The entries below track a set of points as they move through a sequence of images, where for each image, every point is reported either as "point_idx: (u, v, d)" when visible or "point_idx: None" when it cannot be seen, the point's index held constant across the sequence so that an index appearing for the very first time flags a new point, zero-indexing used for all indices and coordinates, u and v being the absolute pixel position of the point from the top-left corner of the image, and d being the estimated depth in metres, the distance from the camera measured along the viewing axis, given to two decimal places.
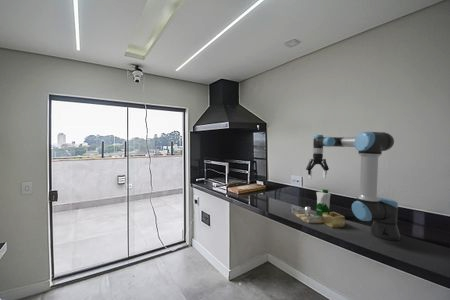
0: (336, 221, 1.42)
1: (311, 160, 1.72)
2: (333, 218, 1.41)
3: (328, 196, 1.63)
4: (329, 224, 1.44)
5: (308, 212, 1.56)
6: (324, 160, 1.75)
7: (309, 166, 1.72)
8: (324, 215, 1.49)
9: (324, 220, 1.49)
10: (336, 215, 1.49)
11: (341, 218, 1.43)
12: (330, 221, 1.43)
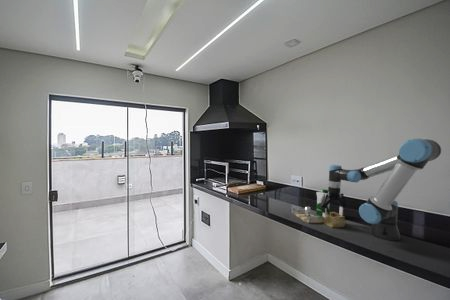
0: (336, 221, 1.42)
1: (326, 196, 1.44)
2: (333, 218, 1.41)
3: None
4: (329, 224, 1.44)
5: (308, 212, 1.56)
6: (341, 195, 1.47)
7: (324, 203, 1.44)
8: None
9: (324, 220, 1.49)
10: (336, 215, 1.49)
11: (341, 218, 1.43)
12: (330, 221, 1.43)
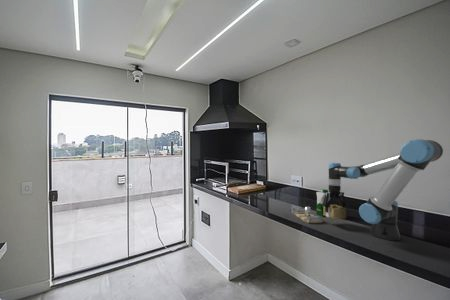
0: (337, 213, 1.41)
1: (327, 195, 1.44)
2: (334, 210, 1.41)
3: None
4: (330, 216, 1.43)
5: (308, 212, 1.56)
6: (342, 193, 1.46)
7: (326, 202, 1.44)
8: None
9: (325, 213, 1.48)
10: (337, 207, 1.48)
11: (342, 210, 1.42)
12: (331, 213, 1.42)
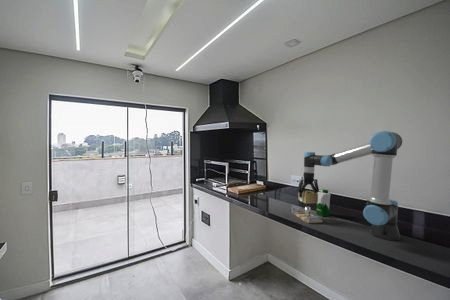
0: (310, 198, 1.53)
1: (301, 181, 1.55)
2: (307, 195, 1.52)
3: (328, 196, 1.63)
4: (303, 200, 1.55)
5: (308, 212, 1.56)
6: (315, 180, 1.58)
7: (300, 188, 1.55)
8: None
9: (299, 197, 1.60)
10: (311, 193, 1.60)
11: (314, 195, 1.54)
12: (304, 198, 1.54)
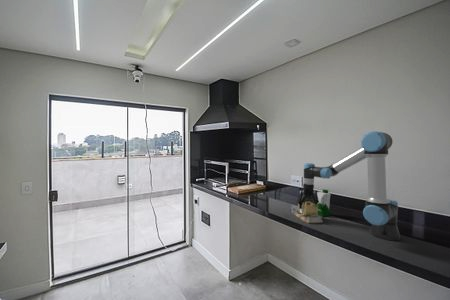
0: (309, 209, 1.53)
1: (301, 192, 1.55)
2: (306, 206, 1.53)
3: (328, 196, 1.63)
4: (303, 212, 1.55)
5: None
6: (315, 192, 1.58)
7: (300, 199, 1.55)
8: None
9: (299, 209, 1.60)
10: (311, 204, 1.60)
11: (314, 206, 1.54)
12: (304, 209, 1.54)
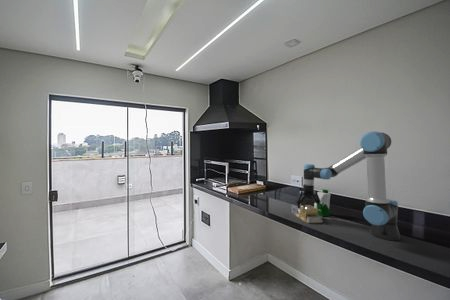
0: (309, 213, 1.53)
1: (301, 193, 1.55)
2: (306, 210, 1.53)
3: (328, 196, 1.63)
4: (303, 216, 1.55)
5: None
6: (315, 192, 1.58)
7: (298, 199, 1.55)
8: None
9: None
10: (311, 208, 1.60)
11: (314, 210, 1.54)
12: (304, 213, 1.54)
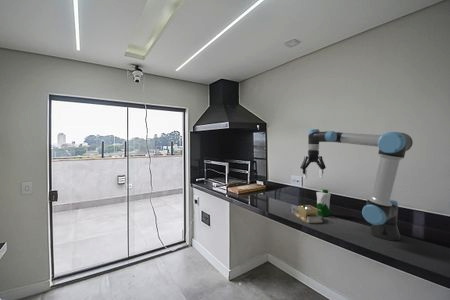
0: (309, 213, 1.53)
1: (306, 157, 1.54)
2: (306, 210, 1.53)
3: (328, 196, 1.63)
4: (303, 216, 1.55)
5: None
6: (320, 157, 1.57)
7: (304, 164, 1.53)
8: (299, 208, 1.60)
9: (299, 212, 1.60)
10: (311, 208, 1.60)
11: (314, 210, 1.54)
12: (304, 213, 1.54)
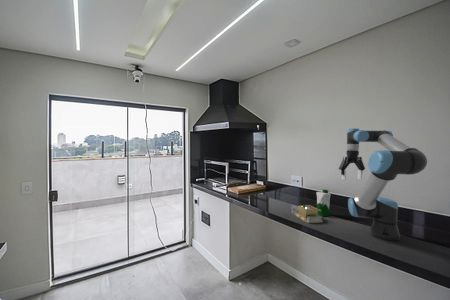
0: (309, 213, 1.53)
1: (345, 158, 1.47)
2: (306, 210, 1.53)
3: (328, 196, 1.63)
4: (303, 216, 1.55)
5: None
6: (360, 158, 1.50)
7: (343, 165, 1.47)
8: (299, 208, 1.60)
9: (299, 212, 1.60)
10: (311, 208, 1.60)
11: (314, 210, 1.54)
12: (304, 213, 1.54)
